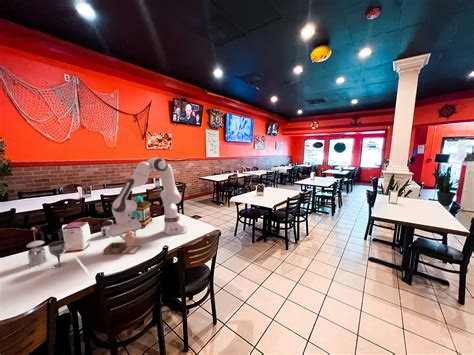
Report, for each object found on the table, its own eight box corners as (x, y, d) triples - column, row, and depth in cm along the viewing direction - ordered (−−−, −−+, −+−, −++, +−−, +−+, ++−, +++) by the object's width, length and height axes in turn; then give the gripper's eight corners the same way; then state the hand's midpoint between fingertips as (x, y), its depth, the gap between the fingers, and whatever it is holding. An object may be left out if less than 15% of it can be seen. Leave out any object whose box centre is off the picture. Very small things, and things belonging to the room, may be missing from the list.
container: (109, 237, 163) (108, 223, 161) (101, 236, 165) (100, 222, 163) (116, 233, 171) (115, 219, 169) (109, 232, 172) (108, 218, 170)
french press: (29, 269, 118) (23, 232, 115) (24, 263, 124) (19, 227, 121) (50, 262, 127) (46, 226, 123) (45, 256, 133) (40, 222, 129)
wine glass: (48, 270, 118) (45, 247, 116) (53, 263, 125) (51, 242, 123) (65, 266, 122) (62, 245, 120) (69, 260, 129) (66, 239, 127)
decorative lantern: (124, 228, 182) (122, 198, 177) (135, 220, 201) (133, 193, 197) (145, 228, 182) (144, 198, 177) (154, 221, 202) (153, 193, 197)
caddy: (141, 247, 149) (141, 241, 148) (134, 255, 137) (134, 249, 136) (112, 247, 147) (112, 241, 146) (102, 256, 135) (102, 250, 135)
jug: (123, 245, 141) (123, 231, 139) (132, 242, 146) (131, 229, 144) (128, 248, 136) (127, 234, 135) (137, 245, 141) (136, 232, 139)
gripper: (109, 223, 135) (115, 240, 130) (138, 216, 151) (144, 231, 146) (107, 227, 138) (113, 244, 134) (135, 220, 154) (142, 235, 150)
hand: (130, 237), depth 140 cm, fingers closed on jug, 6 cm apart
